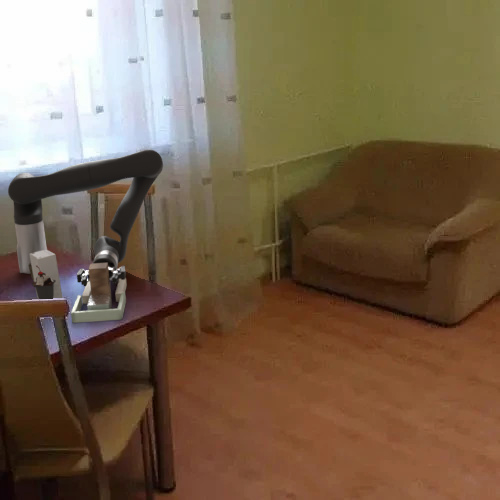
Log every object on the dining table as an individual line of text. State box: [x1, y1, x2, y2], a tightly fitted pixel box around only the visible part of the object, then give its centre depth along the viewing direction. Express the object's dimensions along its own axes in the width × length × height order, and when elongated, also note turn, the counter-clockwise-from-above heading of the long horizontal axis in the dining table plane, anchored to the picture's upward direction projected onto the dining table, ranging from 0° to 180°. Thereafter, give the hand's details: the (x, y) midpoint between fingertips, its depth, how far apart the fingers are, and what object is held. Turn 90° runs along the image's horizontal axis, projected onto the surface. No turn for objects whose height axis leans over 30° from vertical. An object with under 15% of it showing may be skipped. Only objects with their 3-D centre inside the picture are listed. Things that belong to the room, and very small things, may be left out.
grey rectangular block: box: [86, 299, 112, 311], centre depth 220 cm, size 6×4×4 cm, turn 94°
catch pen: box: [70, 291, 127, 324], centre depth 222 cm, size 14×14×3 cm
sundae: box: [31, 265, 56, 300], centre depth 220 cm, size 7×7×15 cm
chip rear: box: [88, 293, 113, 309], centre depth 224 cm, size 6×4×4 cm, turn 94°
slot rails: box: [81, 277, 128, 305], centre depth 236 cm, size 12×14×2 cm
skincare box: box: [30, 249, 64, 300], centre depth 232 cm, size 8×6×15 cm
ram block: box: [88, 263, 113, 302], centre depth 227 cm, size 5×5×12 cm
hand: (98, 282), depth 225 cm, fingers open, 8 cm apart
